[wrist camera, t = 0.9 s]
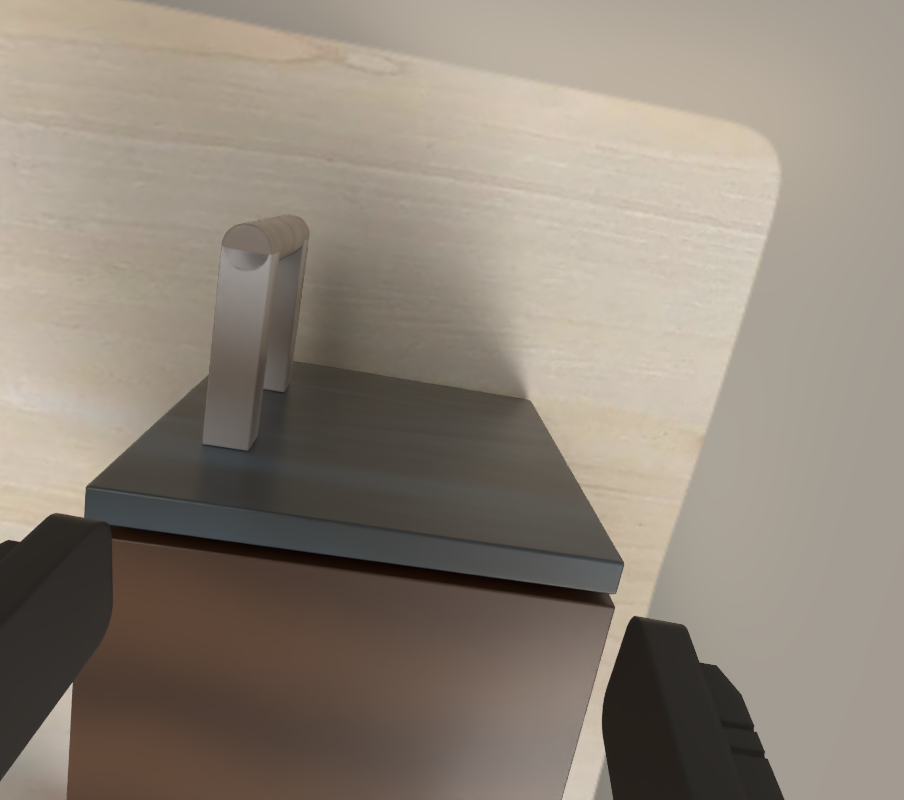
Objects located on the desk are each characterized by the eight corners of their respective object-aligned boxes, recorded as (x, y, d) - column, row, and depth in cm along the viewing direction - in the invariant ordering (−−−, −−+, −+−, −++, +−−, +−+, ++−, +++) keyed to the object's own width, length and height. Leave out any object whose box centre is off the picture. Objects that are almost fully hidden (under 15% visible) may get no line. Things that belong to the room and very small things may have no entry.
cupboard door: (249, 201, 31) (98, 210, 16) (562, 259, 33) (693, 318, 18) (231, 372, 33) (82, 522, 18) (526, 420, 35) (616, 595, 20)
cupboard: (231, 376, 33) (79, 534, 18) (525, 423, 35) (615, 607, 20) (210, 567, 36) (63, 847, 21) (484, 604, 37) (536, 891, 22)
